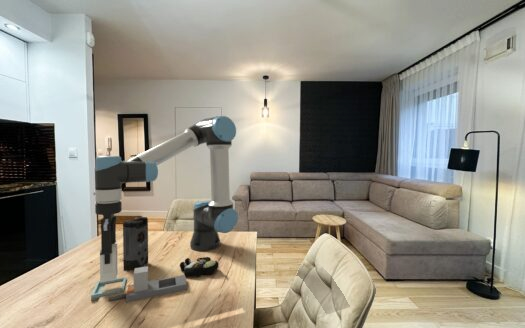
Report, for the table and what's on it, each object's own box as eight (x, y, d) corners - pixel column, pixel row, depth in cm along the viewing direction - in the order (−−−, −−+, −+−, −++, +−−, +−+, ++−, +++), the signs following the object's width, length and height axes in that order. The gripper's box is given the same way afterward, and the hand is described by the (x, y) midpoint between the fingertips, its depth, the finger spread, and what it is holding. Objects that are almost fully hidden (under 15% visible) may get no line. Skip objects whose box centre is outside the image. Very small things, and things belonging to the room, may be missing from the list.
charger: (117, 274, 85) (117, 243, 85) (115, 280, 81) (115, 247, 81) (102, 276, 83) (102, 244, 83) (100, 282, 79) (99, 249, 79)
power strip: (184, 282, 88) (184, 258, 87) (187, 292, 81) (186, 266, 81) (111, 297, 78) (110, 270, 78) (107, 310, 72) (106, 280, 72)
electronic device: (134, 273, 95) (133, 222, 94) (121, 271, 96) (120, 222, 95) (150, 262, 104) (149, 217, 103) (138, 261, 105) (137, 216, 104)
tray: (126, 281, 88) (126, 276, 88) (123, 294, 80) (123, 289, 80) (97, 286, 85) (97, 281, 85) (91, 300, 76) (91, 295, 76)
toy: (190, 254, 103) (221, 248, 99) (195, 271, 103) (226, 266, 99) (172, 267, 91) (207, 260, 87) (177, 287, 90) (212, 281, 87)
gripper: (100, 198, 88) (101, 260, 89) (88, 207, 72) (89, 283, 73) (124, 196, 91) (124, 257, 92) (117, 205, 75) (118, 278, 76)
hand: (109, 269), depth 82 cm, fingers closed on charger, 4 cm apart
